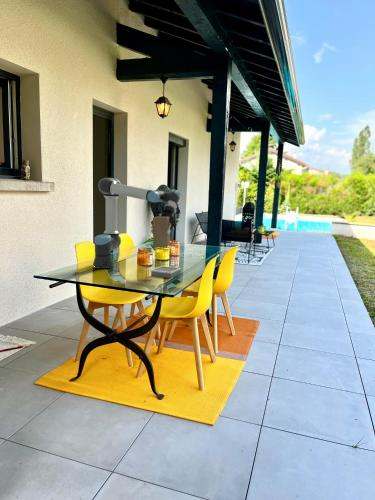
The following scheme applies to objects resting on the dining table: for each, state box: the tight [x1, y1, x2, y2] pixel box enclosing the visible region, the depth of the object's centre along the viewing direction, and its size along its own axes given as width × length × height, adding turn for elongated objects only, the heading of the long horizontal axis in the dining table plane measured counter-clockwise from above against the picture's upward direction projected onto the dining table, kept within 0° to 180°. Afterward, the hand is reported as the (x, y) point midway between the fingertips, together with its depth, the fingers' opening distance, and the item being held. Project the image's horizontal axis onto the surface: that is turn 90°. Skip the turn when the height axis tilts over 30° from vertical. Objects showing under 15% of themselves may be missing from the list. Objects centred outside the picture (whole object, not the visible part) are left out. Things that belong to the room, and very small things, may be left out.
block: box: [152, 215, 171, 248], centre depth 256 cm, size 10×10×20 cm
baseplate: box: [150, 265, 182, 279], centre depth 257 cm, size 15×15×4 cm
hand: (159, 232), depth 254 cm, fingers closed on block, 12 cm apart
